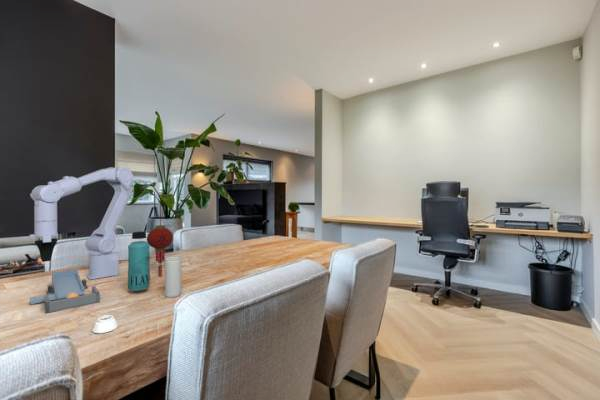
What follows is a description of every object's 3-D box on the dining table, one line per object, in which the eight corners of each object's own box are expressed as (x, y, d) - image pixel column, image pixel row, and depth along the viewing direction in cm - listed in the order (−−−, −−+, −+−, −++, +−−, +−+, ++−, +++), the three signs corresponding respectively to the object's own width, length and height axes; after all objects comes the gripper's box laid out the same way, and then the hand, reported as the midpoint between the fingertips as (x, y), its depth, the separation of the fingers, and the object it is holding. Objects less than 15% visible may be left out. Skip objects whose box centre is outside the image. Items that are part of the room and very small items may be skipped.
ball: (78, 289, 83) (80, 298, 82) (78, 295, 85) (79, 304, 83) (65, 291, 81) (66, 300, 80) (65, 298, 83) (66, 306, 81)
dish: (94, 294, 90) (94, 285, 90) (99, 302, 84) (99, 292, 84) (44, 304, 82) (44, 294, 82) (45, 313, 75) (45, 303, 75)
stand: (86, 285, 98) (86, 278, 98) (87, 288, 95) (87, 280, 95) (46, 292, 91) (46, 284, 91) (46, 295, 88) (46, 287, 88)
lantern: (175, 277, 109) (175, 200, 109) (147, 281, 104) (148, 200, 103) (170, 271, 117) (171, 200, 117) (145, 275, 112) (145, 200, 111)
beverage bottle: (126, 296, 88) (126, 233, 88) (128, 290, 94) (128, 230, 94) (149, 293, 91) (150, 232, 91) (150, 287, 97) (150, 230, 97)
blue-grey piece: (77, 277, 102) (77, 269, 102) (84, 294, 89) (84, 285, 89) (29, 284, 93) (29, 275, 93) (29, 305, 81) (29, 294, 80)
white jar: (122, 326, 69) (107, 323, 70) (122, 314, 69) (107, 312, 70) (103, 336, 64) (87, 333, 66) (103, 323, 64) (87, 320, 66)
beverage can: (184, 294, 91) (184, 257, 91) (173, 299, 87) (173, 260, 87) (172, 292, 93) (172, 256, 93) (161, 297, 88) (161, 259, 88)
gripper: (29, 219, 97) (29, 259, 97) (29, 223, 86) (29, 267, 87) (56, 218, 102) (56, 256, 102) (59, 221, 91) (59, 263, 92)
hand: (46, 261), depth 95 cm, fingers closed
